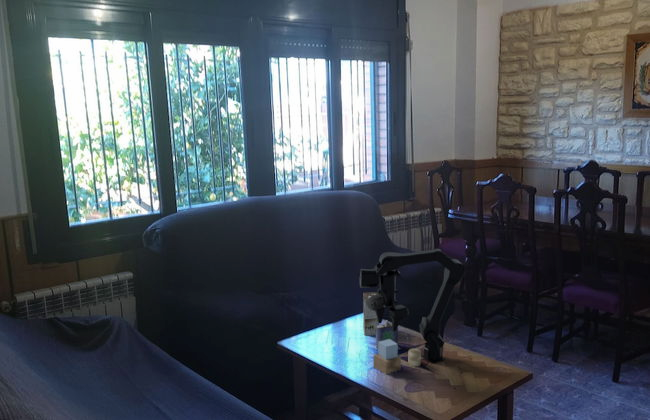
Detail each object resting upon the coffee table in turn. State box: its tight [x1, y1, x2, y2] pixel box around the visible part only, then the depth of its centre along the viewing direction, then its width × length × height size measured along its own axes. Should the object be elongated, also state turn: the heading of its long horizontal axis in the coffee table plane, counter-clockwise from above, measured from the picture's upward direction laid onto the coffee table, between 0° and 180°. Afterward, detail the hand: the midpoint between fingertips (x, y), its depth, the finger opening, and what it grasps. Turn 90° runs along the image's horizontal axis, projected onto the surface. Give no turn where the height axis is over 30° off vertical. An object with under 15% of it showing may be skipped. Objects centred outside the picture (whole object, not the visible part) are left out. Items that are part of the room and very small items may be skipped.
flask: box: [375, 319, 399, 349], centre depth 218 cm, size 9×3×11 cm, turn 109°
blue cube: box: [377, 339, 399, 360], centre depth 199 cm, size 5×5×5 cm
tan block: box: [373, 353, 402, 375], centre depth 200 cm, size 7×7×5 cm
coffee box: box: [362, 291, 380, 336], centre depth 233 cm, size 9×6×16 cm
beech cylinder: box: [407, 348, 422, 367], centre depth 203 cm, size 5×5×5 cm
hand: (387, 326), depth 205 cm, fingers open, 9 cm apart
